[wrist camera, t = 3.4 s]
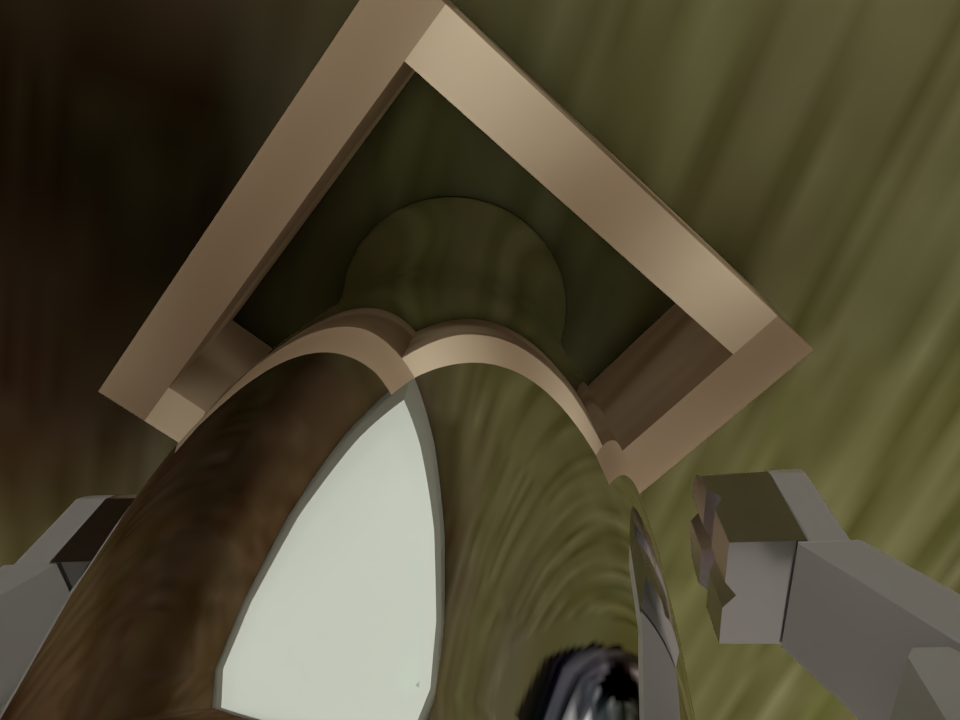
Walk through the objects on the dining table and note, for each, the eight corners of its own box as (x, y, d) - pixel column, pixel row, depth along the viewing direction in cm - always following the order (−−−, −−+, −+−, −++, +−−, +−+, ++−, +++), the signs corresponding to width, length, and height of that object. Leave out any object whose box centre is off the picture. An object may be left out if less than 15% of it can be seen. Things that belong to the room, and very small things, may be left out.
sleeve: (174, 323, 19) (98, 391, 16) (419, -29, 15) (391, -48, 11) (479, 533, 22) (474, 630, 18) (753, 285, 18) (814, 349, 14)
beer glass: (391, 128, 17) (-117, 543, 3) (630, 255, 18) (1011, 954, 4) (294, 351, 19) (-190, 1074, 6) (506, 448, 21) (501, 1234, 7)
